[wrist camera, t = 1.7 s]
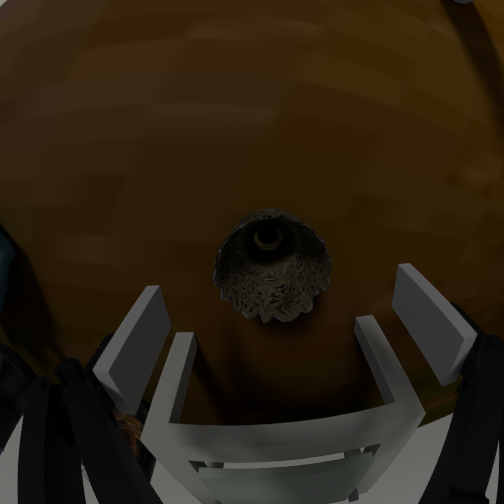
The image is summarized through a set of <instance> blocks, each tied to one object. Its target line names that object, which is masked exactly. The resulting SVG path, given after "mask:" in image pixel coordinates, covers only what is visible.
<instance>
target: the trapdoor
mask: <svg viewBox="0 0 504 504" xmlns="http://www.w3.org/2000/svg"><path fill="white" fill-rule="evenodd" d="M373 462H374V458H373V454H372V452H369V453H365V454H361V455H357V456H352V457H348V458H343V459H338V460H333V461H327V462H321V463H314V464H308V465H299V466H290V467H278V468H261V469H219V468H201V467H199V472H198V478H199V479H200V480H201V481H202V483H203V484H204V485H205V486H206V487H207V488H208V489H209V491H210V492H211V493H212V494H213V495H214V496H215V497H216V498H217V499H218V500H219V501H220V502H221V503H222V504H329V503H334V502H339V501H344V500H346V499H347V498H348V497H349V495H350V494H351V493H352V492H353V490H354V489H355V488H356V486H357V485H358V484H359V482H360V481H361V480H362V478H363V477H364V475H365V474H366V473H367V471H368V470H369V468H370V467H371V465H372V464H373Z"/></svg>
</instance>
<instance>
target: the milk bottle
mask: <svg viewBox="0 0 504 504" xmlns="http://www.w3.org/2000/svg"><path fill="white" fill-rule="evenodd" d="M452 1H455V2H457V3H461V4H467V3H470V2H472V1H475V0H452Z"/></svg>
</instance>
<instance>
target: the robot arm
mask: <svg viewBox="0 0 504 504" xmlns="http://www.w3.org/2000/svg"><path fill="white" fill-rule="evenodd" d="M392 307H393V309H394V310H395V312H396V313H397V315H398V316H399V317H400V319H401V320H402V322H403V323H404V325H405V326H406V328H407V329H408V331H409V333H410V334H411V336H412V337H413V339H414V340H415V342H416V343H417V345H418V347H419V348H420V350H421V351H422V353H423V354H424V356H425V358H426V359H427V361H428V363H429V364H430V366H431V368H432V369H433V371H434V373H435V374H436V376H437V378H438V380H439V381H440V383H441V385H442V386H445V385H447V384H450V383H453V382H455V381H456V379H457V377H458V375H459V373H461V374H462V376H463V379H462V381H461V382H460V384H459V386H458V388H457V390H456V392H455V394H457V392H458V391H459V393H458V397H457V401H456V405H455V409H454V413H453V417H452V420H451V424H450V427H449V430H448V433H447V436H446V440H445V442H444V445H443V448H442V451H441V454H440V456H439V459H438V462H437V464H436V466H435V469H434V471H433V474H432V476H431V478H430V480H429V482H428V485H427V487H426V489H425V491H424V493H423V495H422V497H421V499H420V501H419V503H418V504H489V499H488V498H486V497H485V492H486V488H487V486H488V482H489V479H490V475H491V472H492V468H493V464H494V460H495V456H496V451H497V446H498V441H499V478H498V490H497V499H496V504H504V342H503V340H502V339H501V338H500V337H498V336H496V335H494V334H487V335H485V333H484V332H483V331H482V330H481V329H480V328H479V327H478V325H477V324H476V323H475V322H474V321H473V320H472V319H470V317H469V316H468V314H466V312H465V311H464V310H463V309H462V308H461V307H460V306H458V305H456V304H455V303H453V302H450V303H449V302H448V301H447V300H446V299H445V298H444V297H443V296H442V295H441V294H440V293H439V292H438V290H437V289H436V288H435V287H434V286H433V285H432V284H431V283H430V282H429V281H428V280H427V279H426V278H425V277H423V276H422V275H421V274H420V273H419V272H418V271H417V270H416V269H415V268H414V267H413V266H412V265H411V264H410V263H406V264H398V270H397V277H396V284H395V291H394V297H393V302H392ZM170 328H171V323H170V320H169V317H168V313H167V310H166V307H165V304H164V300H163V297H162V293H161V290H160V286H159V285H158V286H147V287H146V288H145V290H144V291H143V293H142V294H141V295H140V297H139V298H138V300H137V301H136V303H135V304H134V306H133V307H132V309H131V310H130V312H129V313H128V315H127V316H126V318H125V319H124V321H123V322H122V324H121V325H120V327H119V328H118V330H117V331H116V333H115V334H114V333H111V334H109V335H108V336H107V337H106V338H104V339H103V341H102V342H101V344H100V345H99V348H97V350H96V351H95V354H93V356H92V357H91V359H90V361H89V362H88V364H87V365H86V367H85V368H83V367H82V365H81V363H80V362H79V360H78V359H76V358H68V359H65V360H63V361H61V362H60V363H59V364H58V365H57V366H56V368H55V370H54V374H55V376H56V377H57V379H58V380H59V382H60V383H61V384H53V383H52V382H51V380H50V379H49V378H48V377H46V376H42V377H39V378H37V377H36V375H35V374H34V373H33V371H32V370H31V369H30V368H29V367H28V365H27V364H26V363H25V362H24V361H23V360H22V359H21V358H20V357H19V356H18V355H17V354H16V353H14V352H13V351H12V350H11V349H10V348H8V347H7V346H5V345H3V344H1V343H0V455H1V453H2V452H3V451H4V448H5V446H6V444H7V442H8V440H9V438H10V436H11V434H12V433H13V431H14V429H15V427H16V425H17V424H18V422H19V420H20V418H21V417H22V415H23V414H24V417H23V424H22V430H21V438H20V447H19V459H18V460H19V461H18V504H86V500H85V494H84V487H83V479H82V469H81V459H82V462H83V465H84V468H85V471H86V473H87V476H88V479H89V481H90V484H91V486H92V489H93V491H94V493H95V495H96V498H97V500H98V502H99V504H163V503H162V501H161V500H160V498H159V497H158V495H157V493H156V492H155V490H154V489H153V487H152V486H151V484H150V482H149V481H148V479H147V477H146V476H145V474H144V472H143V470H142V469H141V467H140V465H139V463H138V461H137V460H136V458H135V456H134V454H133V452H132V450H131V448H130V446H129V444H128V442H127V440H126V438H125V436H124V434H123V432H122V430H121V427H120V425H119V423H118V421H117V418H116V416H115V414H114V413H113V412H112V410H113V408H114V406H116V407H117V409H118V410H119V411H120V413H125V414H131V415H136V412H137V409H138V407H139V404H140V401H141V399H142V396H143V394H144V391H145V389H146V386H147V384H148V381H149V379H150V376H151V374H152V371H153V369H154V366H155V364H156V361H157V359H158V356H159V354H160V352H161V349H162V347H163V344H164V342H165V340H166V337H167V335H168V333H169V330H170Z"/></svg>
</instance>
